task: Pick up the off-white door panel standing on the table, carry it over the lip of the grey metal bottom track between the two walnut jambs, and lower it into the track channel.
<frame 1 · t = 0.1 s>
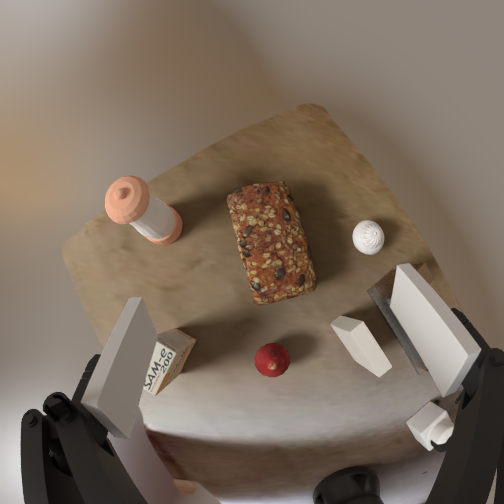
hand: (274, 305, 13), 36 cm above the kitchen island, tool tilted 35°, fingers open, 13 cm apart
supplement box: (178, 351, 48), on the kitchen island
pepper shaker: (165, 226, 52), on the kitchen island
white rounded ridged piece: (361, 241, 50), on the kitchen island
medicine bottle: (422, 419, 43), on the kitchen island
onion: (271, 355, 47), on the kitchen island
door panel: (348, 338, 47), on the kitchen island
track: (409, 322, 47), on the kitchen island
bread: (270, 248, 50), on the kitchen island
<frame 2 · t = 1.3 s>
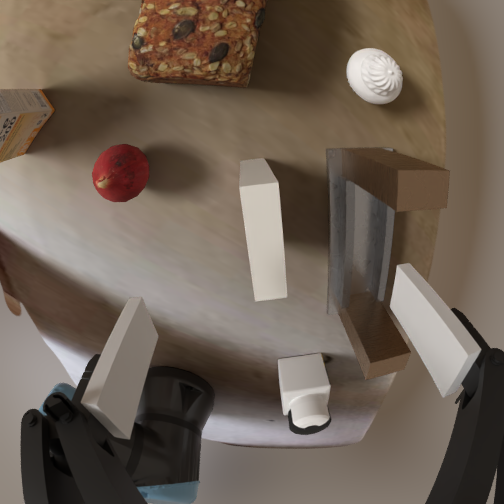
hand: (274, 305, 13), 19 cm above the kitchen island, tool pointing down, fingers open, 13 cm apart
supplement box: (33, 122, 24), on the kitchen island
white rounded ridged piece: (361, 79, 24), on the kitchen island
medicine bottle: (299, 367, 43), on the kitchen island
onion: (134, 166, 28), on the kitchen island
door panel: (257, 199, 30), on the kitchen island
track: (359, 237, 32), on the kitchen island
bread: (213, 14, 21), on the kitchen island
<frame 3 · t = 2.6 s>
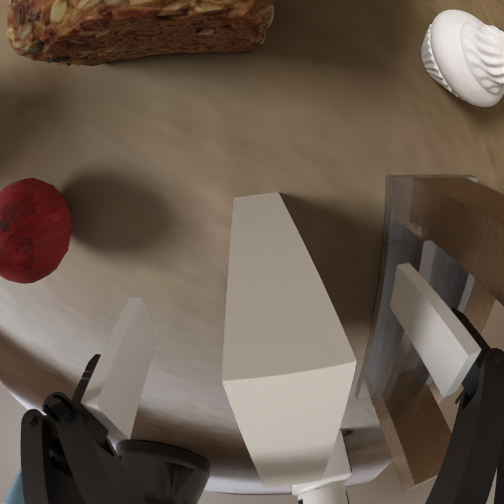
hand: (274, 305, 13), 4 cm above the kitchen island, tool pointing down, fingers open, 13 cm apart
white rounded ridged piece: (436, 61, 11), on the kitchen island
medicine bottle: (312, 442, 30), on the kitchen island
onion: (60, 207, 15), on the kitchen island
door panel: (264, 264, 17), on the kitchen island
track: (414, 308, 20), on the kitchen island
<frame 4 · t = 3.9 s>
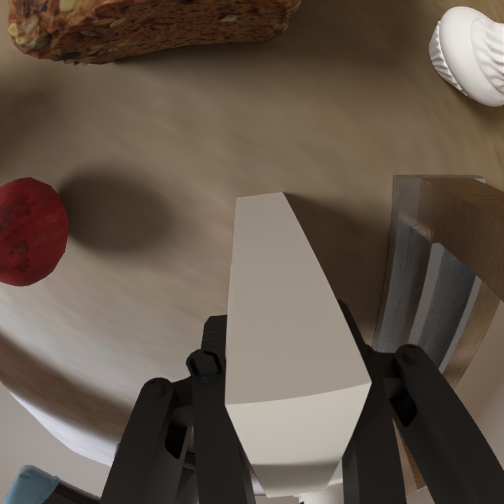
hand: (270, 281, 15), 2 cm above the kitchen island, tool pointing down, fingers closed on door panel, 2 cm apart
white rounded ridged piece: (444, 59, 11), on the kitchen island
medicine bottle: (314, 443, 30), on the kitchen island
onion: (57, 207, 15), on the kitchen island
door panel: (267, 267, 17), on the kitchen island, touching gripper
track: (419, 310, 19), on the kitchen island
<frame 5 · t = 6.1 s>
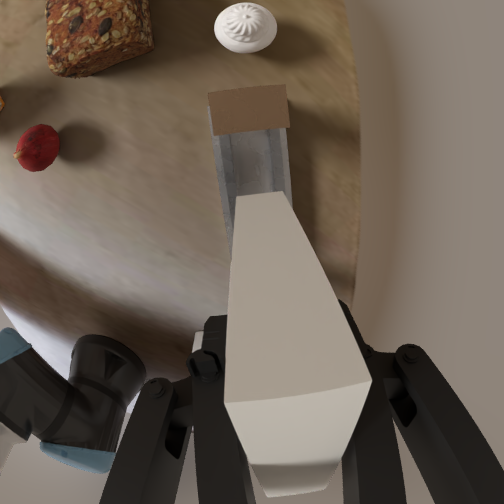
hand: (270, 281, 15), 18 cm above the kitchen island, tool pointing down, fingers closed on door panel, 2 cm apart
white rounded ridged piece: (245, 37, 23), on the kitchen island
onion: (55, 143, 27), on the kitchen island
door panel: (267, 266, 17), point 17 cm above the kitchen island, touching gripper
track: (256, 195, 32), on the kitchen island
bread: (114, 9, 20), on the kitchen island
when the fingers open (4 cm above the kitchen island, at t = 8.3 s): door panel drops 1 cm, resting on track.
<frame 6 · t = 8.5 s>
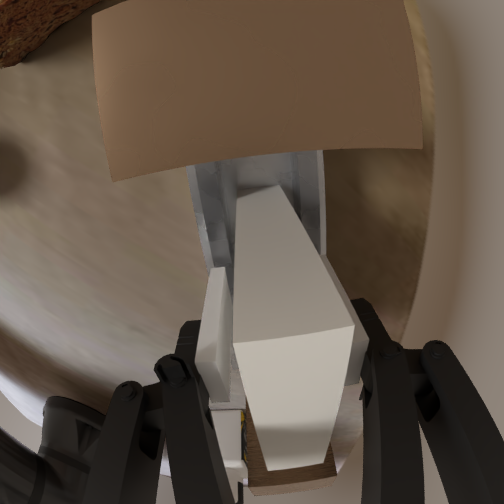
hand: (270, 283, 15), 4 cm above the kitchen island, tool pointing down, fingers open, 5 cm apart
medicine bottle: (217, 421, 30), on the kitchen island
door panel: (266, 255, 18), point 1 cm above the kitchen island, touching track
track: (265, 250, 19), on the kitchen island
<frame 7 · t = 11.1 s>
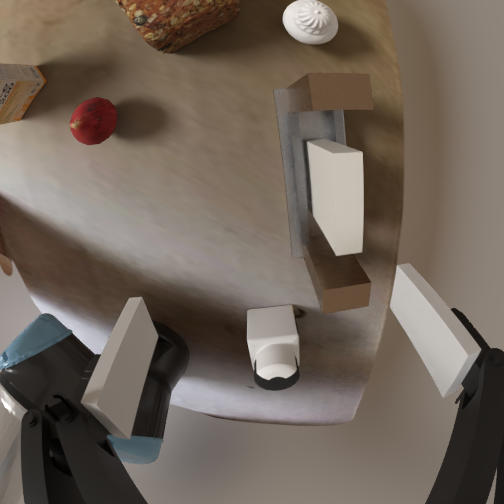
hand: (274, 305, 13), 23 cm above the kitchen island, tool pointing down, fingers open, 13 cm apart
supplement box: (29, 92, 25), on the kitchen island
white rounded ridged piece: (304, 30, 24), on the kitchen island
medicine bottle: (271, 322, 44), on the kitchen island
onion: (108, 119, 29), on the kitchen island
door panel: (317, 175, 32), point 1 cm above the kitchen island, touching track
track: (315, 174, 33), on the kitchen island
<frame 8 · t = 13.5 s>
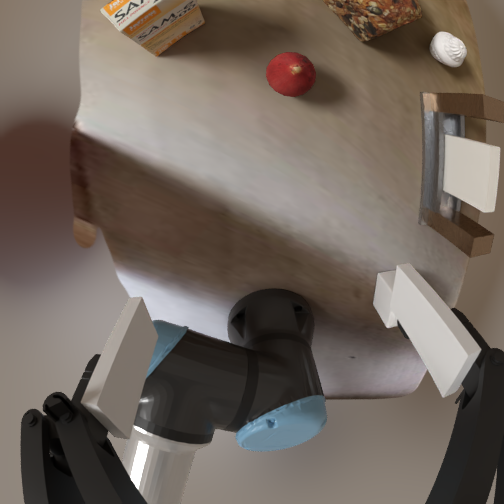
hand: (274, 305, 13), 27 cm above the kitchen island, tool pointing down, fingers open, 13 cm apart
supplement box: (173, 30, 27), on the kitchen island
white rounded ridged piece: (435, 51, 27), on the kitchen island
medicine bottle: (391, 285, 46), on the kitchen island
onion: (286, 78, 31), on the kitchen island
door panel: (443, 160, 35), point 1 cm above the kitchen island, touching track
track: (440, 159, 35), on the kitchen island
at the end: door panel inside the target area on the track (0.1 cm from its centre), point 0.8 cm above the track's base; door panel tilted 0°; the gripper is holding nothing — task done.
